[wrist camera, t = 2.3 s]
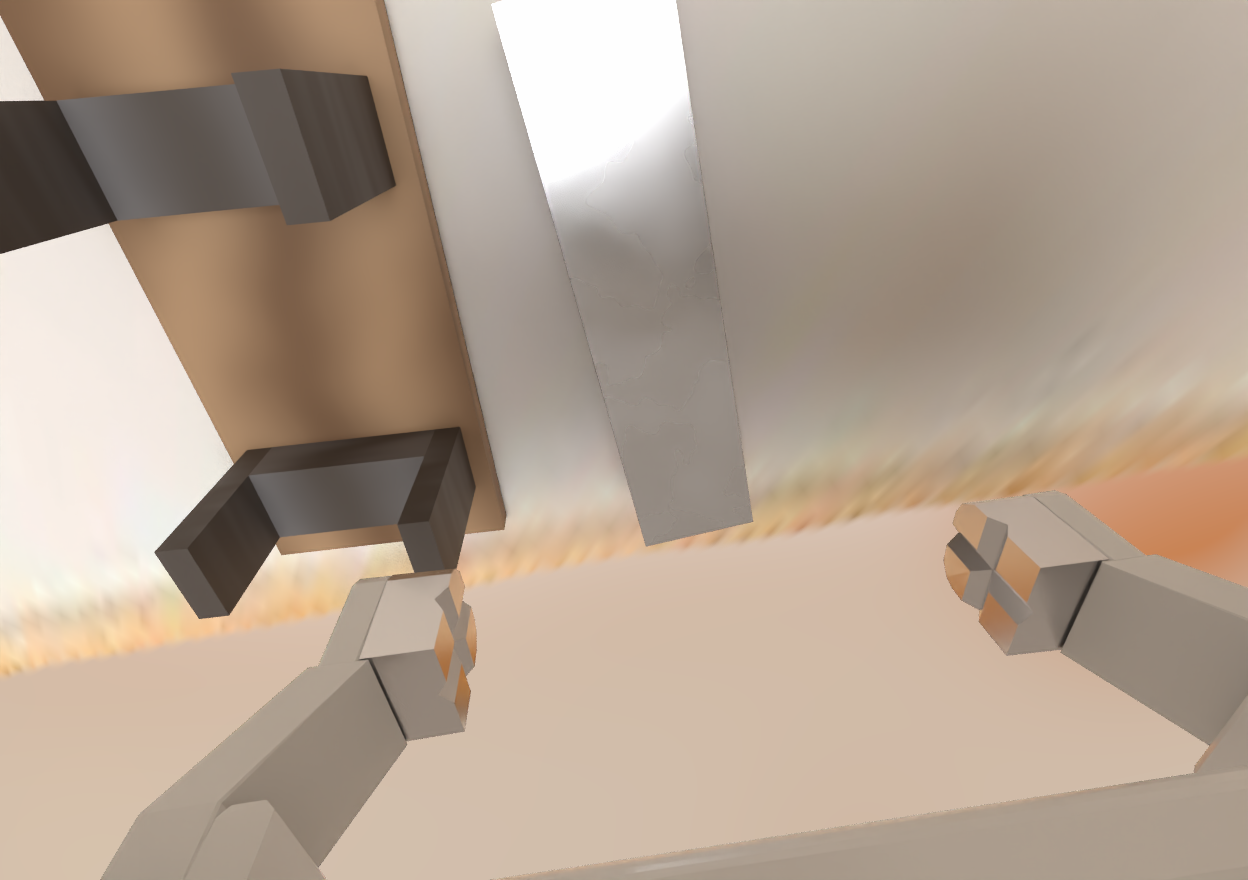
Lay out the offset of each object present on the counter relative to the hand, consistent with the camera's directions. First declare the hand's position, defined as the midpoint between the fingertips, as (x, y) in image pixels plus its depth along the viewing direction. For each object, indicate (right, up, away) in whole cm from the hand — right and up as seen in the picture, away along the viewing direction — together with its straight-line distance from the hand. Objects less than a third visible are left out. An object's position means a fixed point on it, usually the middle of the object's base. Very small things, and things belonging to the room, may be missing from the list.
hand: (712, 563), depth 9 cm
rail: (-1, +8, +13) cm, 15 cm away
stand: (-13, +6, +12) cm, 19 cm away
